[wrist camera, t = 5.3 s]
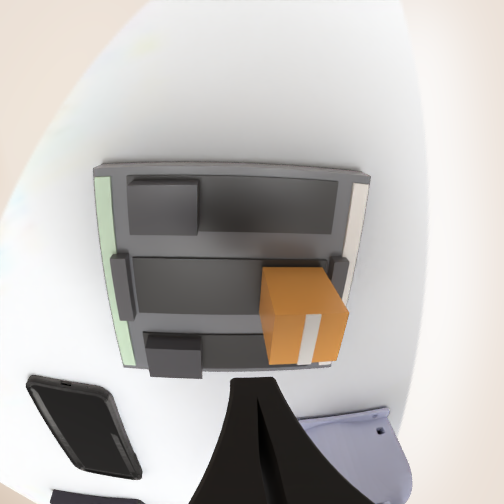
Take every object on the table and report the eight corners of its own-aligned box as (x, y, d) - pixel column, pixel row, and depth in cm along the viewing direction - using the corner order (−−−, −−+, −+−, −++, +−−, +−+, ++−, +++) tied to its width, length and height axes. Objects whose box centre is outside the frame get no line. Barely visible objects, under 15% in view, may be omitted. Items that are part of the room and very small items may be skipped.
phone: (77, 469, 25) (21, 379, 19) (79, 461, 26) (26, 370, 20) (144, 481, 26) (108, 395, 20) (145, 472, 27) (112, 384, 21)
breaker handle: (322, 267, 16) (350, 314, 12) (314, 310, 17) (337, 362, 13) (262, 266, 16) (275, 316, 12) (259, 311, 17) (269, 366, 13)
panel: (360, 171, 16) (381, 181, 13) (325, 354, 21) (335, 380, 18) (101, 164, 14) (82, 173, 12) (127, 354, 19) (119, 380, 17)
